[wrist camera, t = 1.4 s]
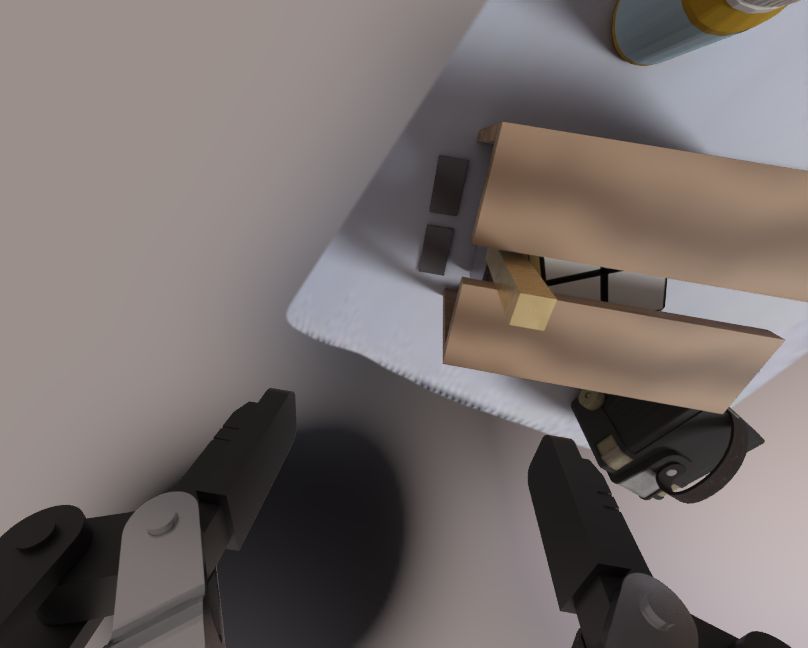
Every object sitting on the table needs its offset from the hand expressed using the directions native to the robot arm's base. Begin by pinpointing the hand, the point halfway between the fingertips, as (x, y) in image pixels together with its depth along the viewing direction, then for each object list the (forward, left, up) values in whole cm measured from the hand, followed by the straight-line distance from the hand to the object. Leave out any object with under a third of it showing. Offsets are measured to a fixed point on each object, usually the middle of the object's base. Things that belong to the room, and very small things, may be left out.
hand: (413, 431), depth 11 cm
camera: (+17, +30, -31) cm, 46 cm away
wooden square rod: (-1, +6, -30) cm, 31 cm away
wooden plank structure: (-1, +20, -30) cm, 36 cm away
